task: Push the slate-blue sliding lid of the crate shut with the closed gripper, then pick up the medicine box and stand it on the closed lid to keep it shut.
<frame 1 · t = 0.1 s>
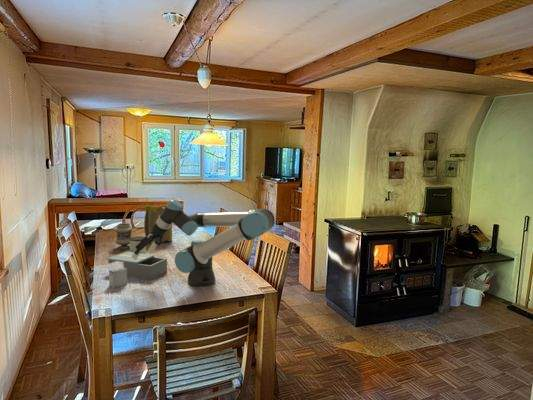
hand: (141, 255, 192), 15 cm above the table, tool tilted 35°, fingers open, 13 cm apart
decorative book: (158, 242, 286), on the table
coffee can: (137, 258, 239), on the table
medicine box: (118, 285, 189), on the table
lid: (131, 259, 210), point 8 cm above the table, slide at 9.0 cm
apothecary jar: (124, 248, 265), on the table
crate: (145, 273, 209), on the table
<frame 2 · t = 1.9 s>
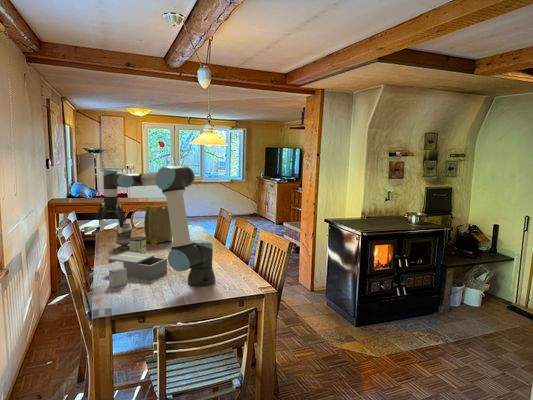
hand: (111, 231, 213), 23 cm above the table, tool pointing down, fingers open, 12 cm apart
nothing on the table moved.
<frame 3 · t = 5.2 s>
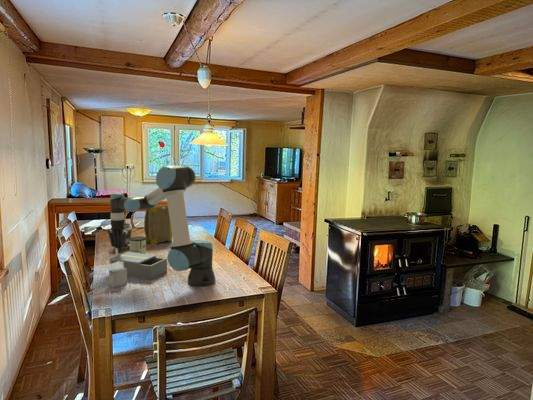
hand: (118, 258, 213), 7 cm above the table, tool pointing down, fingers closed
lid: (133, 259, 210), point 8 cm above the table, slide at 7.8 cm, touching gripper
everything else where it was.
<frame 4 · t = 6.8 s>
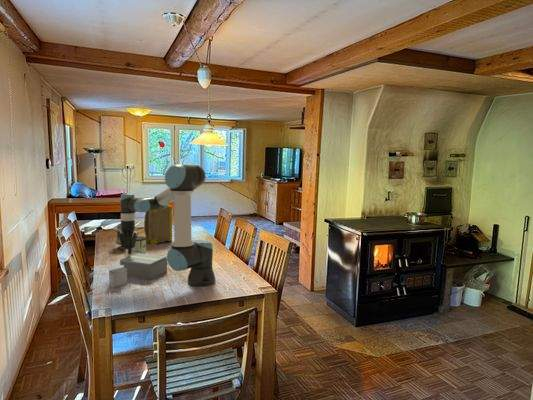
hand: (128, 259, 211), 7 cm above the table, tool pointing down, fingers closed
lid: (143, 260, 208), point 8 cm above the table, slide at 0.7 cm, touching gripper
everything else where it was.
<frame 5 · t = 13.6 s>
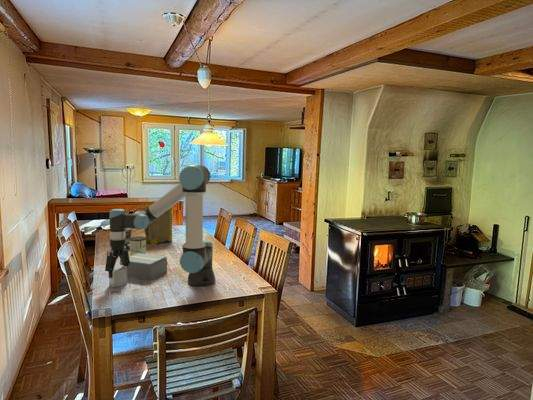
hand: (118, 280, 189), 2 cm above the table, tool pointing down, fingers closed on medicine box, 9 cm apart
medicine box: (118, 285, 189), on the table, touching gripper
lid: (143, 260, 208), point 8 cm above the table, slide at 0.7 cm
everything else where it was.
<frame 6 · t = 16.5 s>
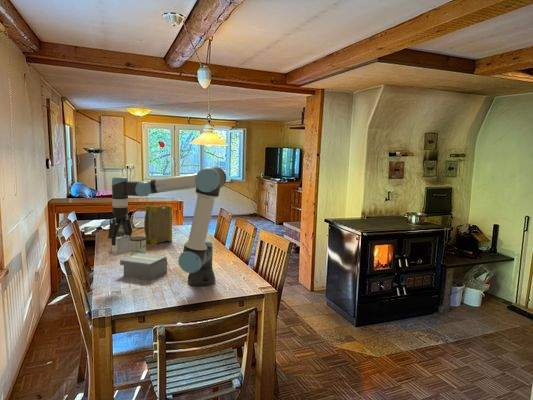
hand: (121, 248, 189), 19 cm above the table, tool pointing down, fingers closed on medicine box, 9 cm apart
medicine box: (121, 253, 189), point 16 cm above the table, touching gripper
everything else where it was.
when the fingers open (13 cm above the table, at t = 19.8 s): medicine box drops 1 cm, resting on lid.
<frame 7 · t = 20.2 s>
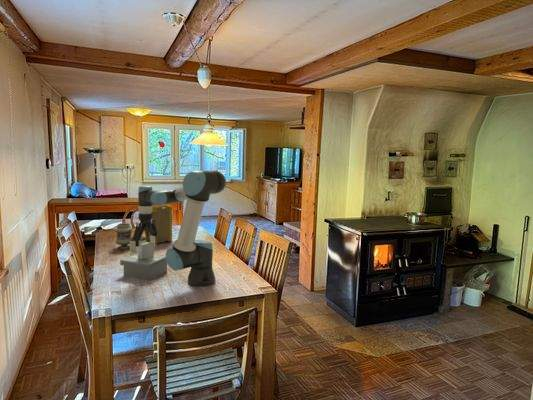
hand: (145, 249, 207), 15 cm above the table, tool pointing down, fingers open, 13 cm apart
medicine box: (145, 258, 208), point 9 cm above the table, touching lid
lid: (143, 260, 208), point 8 cm above the table, slide at 0.6 cm, touching medicine box
everything else where it was.
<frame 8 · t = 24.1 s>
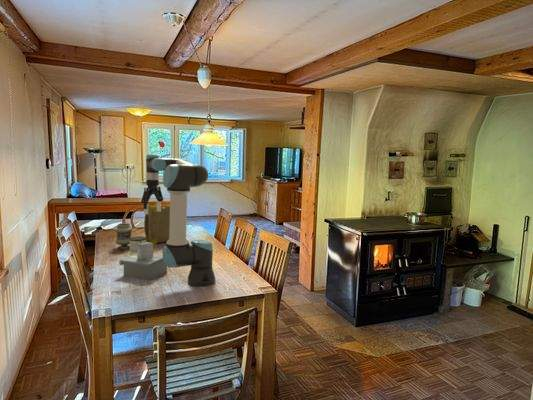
hand: (152, 212, 226), 33 cm above the table, tool pointing down, fingers open, 13 cm apart
lid: (143, 260, 208), point 8 cm above the table, slide at 1.0 cm, touching medicine box
everything else where it was.
at the end: lid slide at 1.0 cm; medicine box inside the target area on the crate (0.4 cm from its centre), point 9.1 cm above the crate's base; medicine box tilted 0° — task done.
